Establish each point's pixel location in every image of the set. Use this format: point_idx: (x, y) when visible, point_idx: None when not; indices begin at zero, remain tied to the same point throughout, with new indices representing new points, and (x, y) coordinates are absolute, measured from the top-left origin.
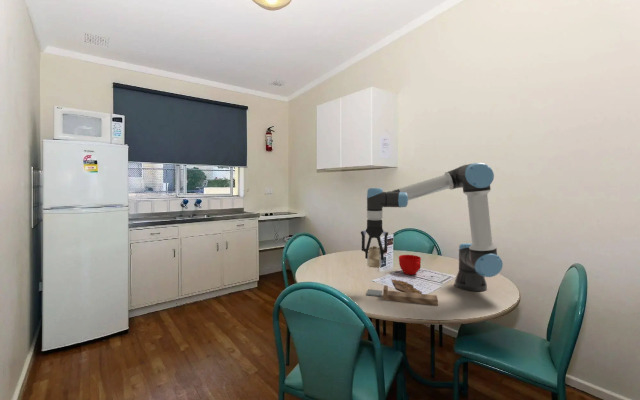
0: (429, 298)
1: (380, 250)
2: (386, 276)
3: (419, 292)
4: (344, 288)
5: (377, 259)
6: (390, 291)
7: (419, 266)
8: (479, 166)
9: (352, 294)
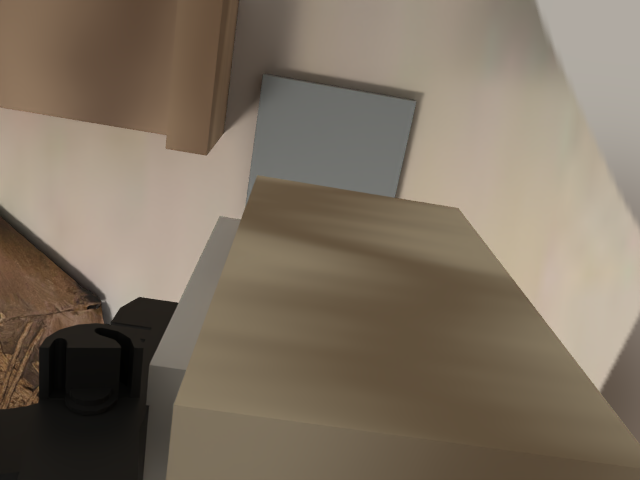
0: None
1: (125, 454)
2: None
3: None
4: (619, 265)
5: (276, 240)
6: (147, 106)
7: None
8: None
9: (558, 107)
